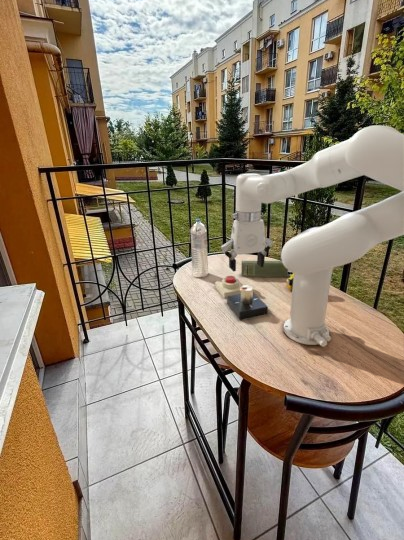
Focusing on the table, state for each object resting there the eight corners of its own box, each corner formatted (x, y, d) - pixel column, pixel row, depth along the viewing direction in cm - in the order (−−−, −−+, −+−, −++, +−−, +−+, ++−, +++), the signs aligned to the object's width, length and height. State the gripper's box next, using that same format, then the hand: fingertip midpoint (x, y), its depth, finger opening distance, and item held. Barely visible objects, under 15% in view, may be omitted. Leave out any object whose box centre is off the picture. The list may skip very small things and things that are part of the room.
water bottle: (198, 270, 128) (196, 216, 119) (211, 273, 124) (209, 218, 115) (189, 275, 123) (186, 220, 114) (202, 279, 119) (199, 222, 110)
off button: (236, 283, 107) (236, 278, 106) (227, 284, 106) (227, 280, 105) (233, 279, 110) (233, 275, 109) (224, 280, 109) (224, 276, 108)
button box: (246, 294, 106) (246, 284, 104) (224, 298, 103) (224, 288, 102) (236, 282, 115) (236, 274, 113) (215, 286, 112) (215, 277, 111)
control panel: (267, 314, 92) (267, 306, 91) (239, 320, 90) (239, 311, 89) (252, 298, 102) (252, 291, 101) (226, 303, 100) (226, 295, 98)
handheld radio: (241, 273, 123) (300, 274, 120) (241, 277, 120) (301, 277, 117) (241, 259, 120) (301, 259, 117) (241, 263, 117) (303, 263, 114)
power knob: (249, 297, 97) (249, 283, 95) (254, 302, 94) (255, 288, 92) (238, 299, 96) (238, 285, 94) (243, 305, 93) (243, 290, 91)
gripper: (225, 221, 79) (225, 276, 85) (280, 216, 84) (276, 268, 90) (217, 216, 86) (217, 267, 92) (267, 211, 90) (265, 260, 96)
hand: (246, 267), depth 91 cm, fingers open, 9 cm apart
